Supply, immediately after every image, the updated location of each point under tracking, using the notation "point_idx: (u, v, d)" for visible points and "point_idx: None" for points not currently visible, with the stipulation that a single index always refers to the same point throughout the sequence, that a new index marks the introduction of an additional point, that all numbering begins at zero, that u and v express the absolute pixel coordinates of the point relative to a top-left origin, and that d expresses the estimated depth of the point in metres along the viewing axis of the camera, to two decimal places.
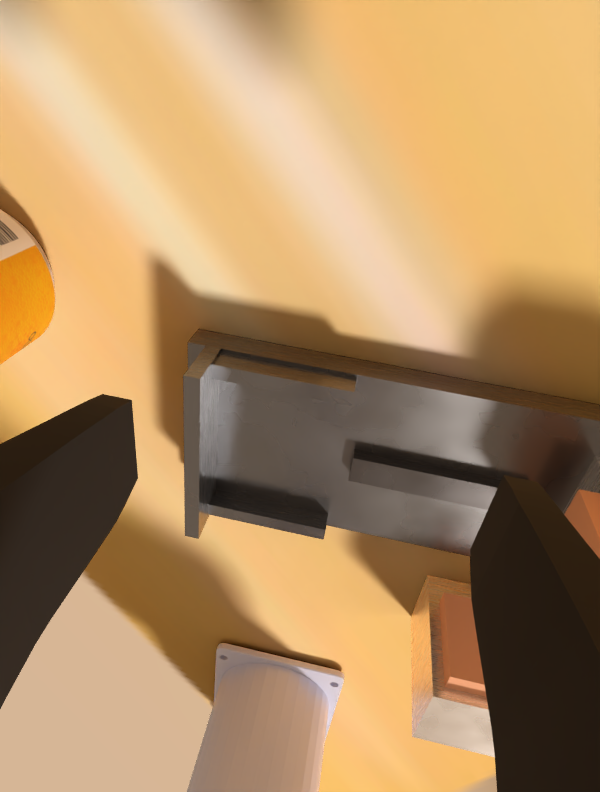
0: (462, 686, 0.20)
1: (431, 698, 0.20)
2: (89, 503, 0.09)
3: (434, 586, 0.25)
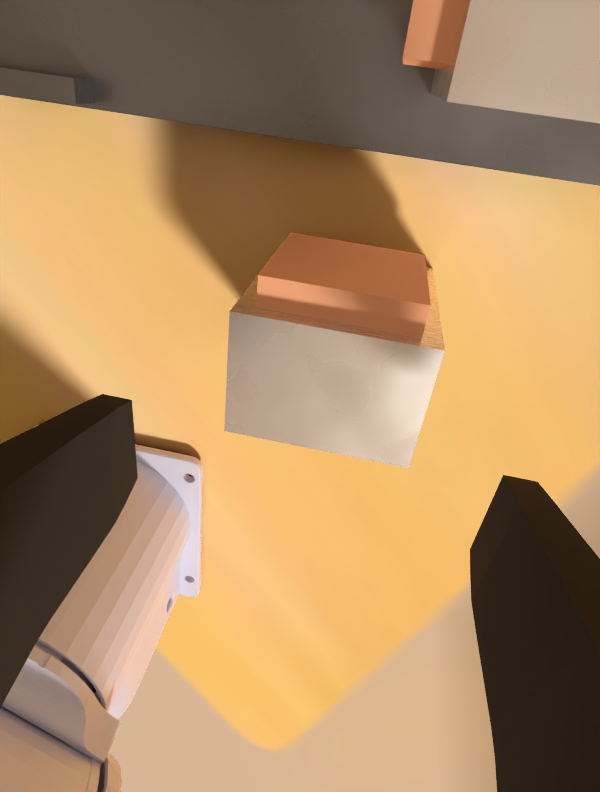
0: (282, 298, 0.12)
1: (229, 319, 0.12)
2: (89, 503, 0.09)
3: None
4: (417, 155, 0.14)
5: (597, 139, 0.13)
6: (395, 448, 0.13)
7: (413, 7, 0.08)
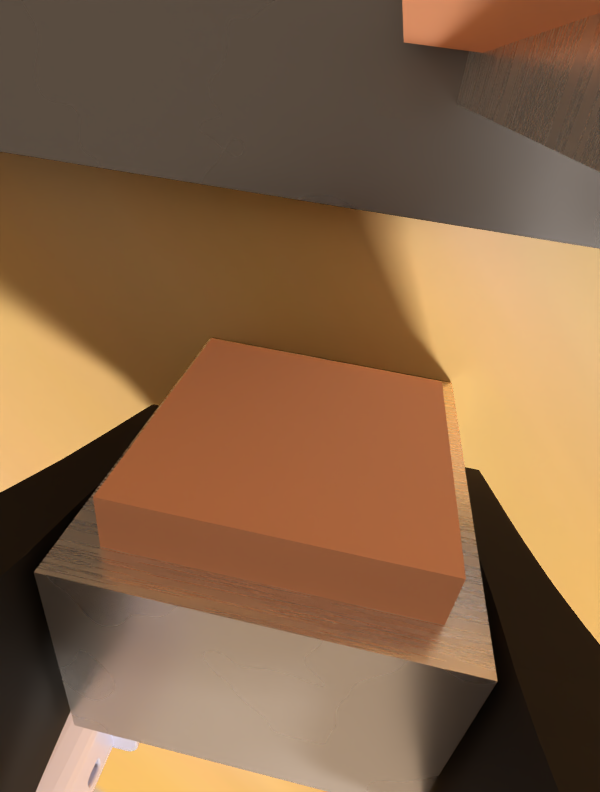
0: (148, 537, 0.06)
1: (38, 582, 0.06)
2: None
3: None
4: (430, 217, 0.07)
5: None
6: (389, 789, 0.07)
7: None
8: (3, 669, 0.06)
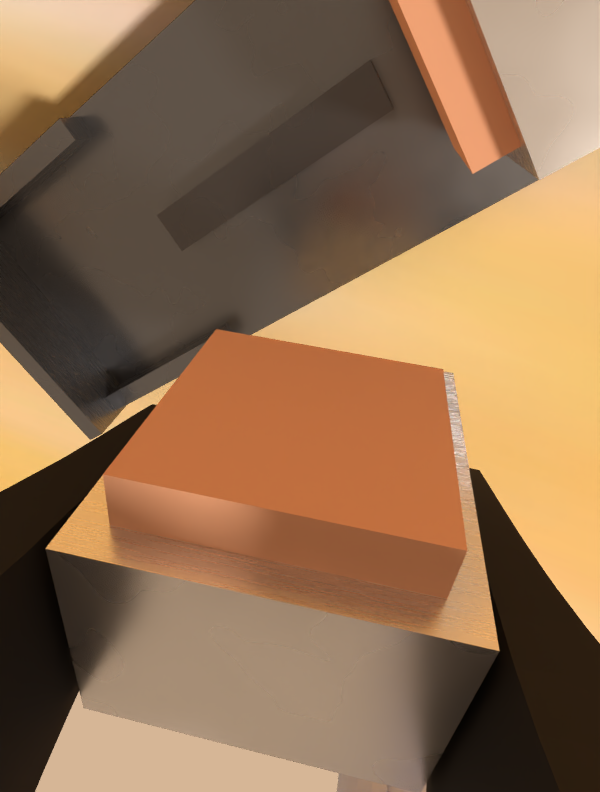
0: (157, 515, 0.06)
1: (50, 560, 0.06)
2: None
3: None
4: (509, 192, 0.13)
5: None
6: (394, 768, 0.07)
7: (458, 136, 0.08)
8: (2, 669, 0.06)
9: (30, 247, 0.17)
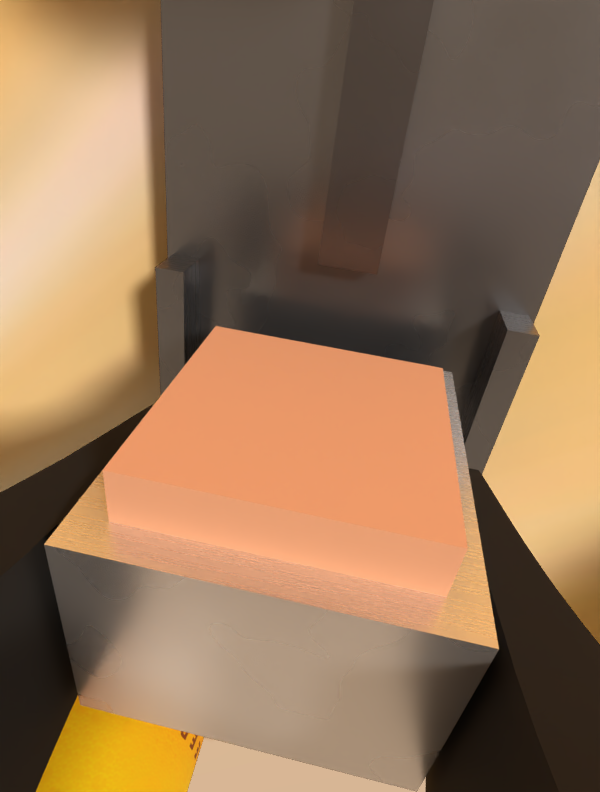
0: (157, 510, 0.06)
1: (47, 555, 0.06)
2: None
3: None
4: None
5: None
6: (392, 766, 0.07)
7: None
8: (3, 669, 0.06)
9: None
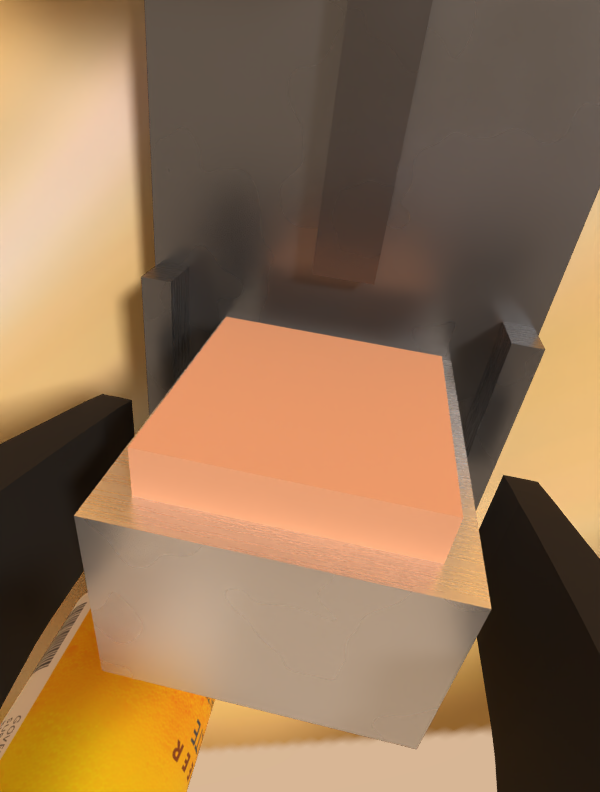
0: (177, 485, 0.06)
1: (76, 526, 0.06)
2: None
3: None
4: None
5: None
6: (393, 724, 0.07)
7: None
8: None
9: None
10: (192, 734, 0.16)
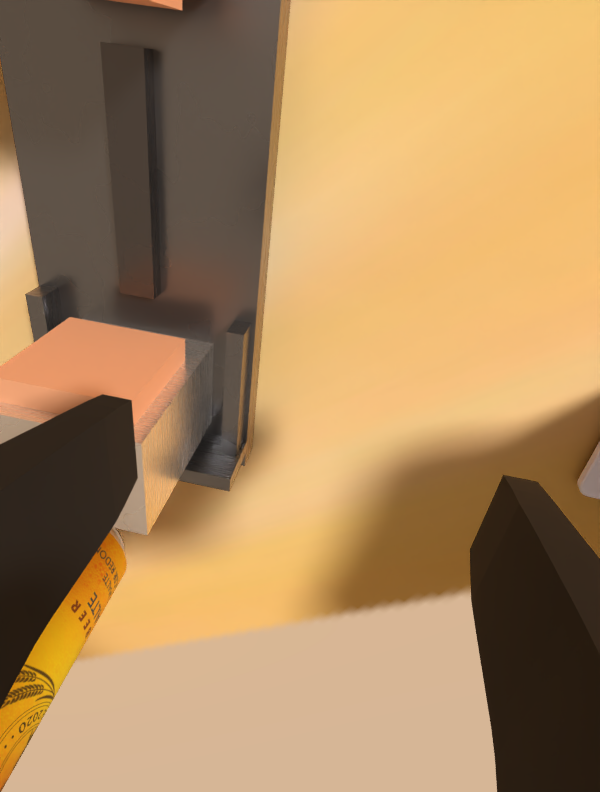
0: (12, 394, 0.14)
1: None
2: (89, 503, 0.09)
3: None
4: None
5: None
6: (131, 519, 0.15)
7: None
8: None
9: None
10: (88, 600, 0.23)
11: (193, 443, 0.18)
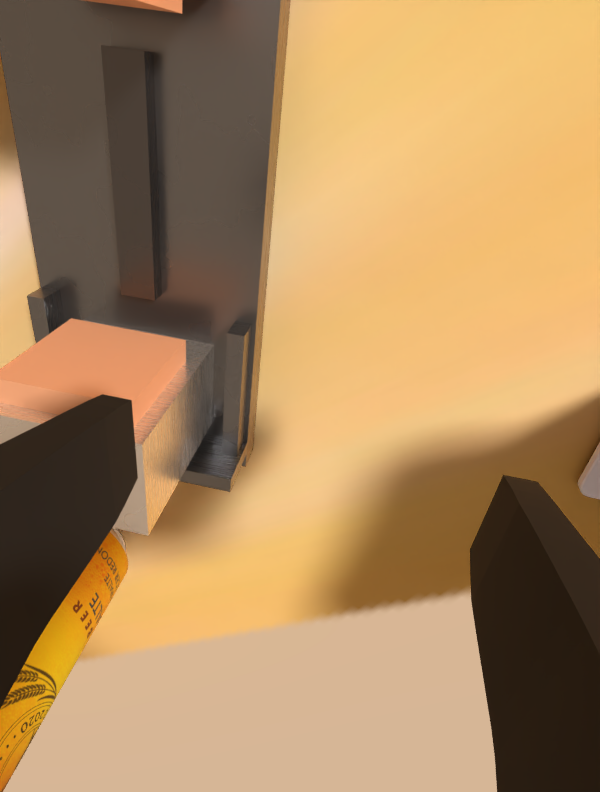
0: (13, 395, 0.14)
1: None
2: (89, 503, 0.09)
3: None
4: None
5: None
6: (132, 519, 0.15)
7: None
8: None
9: None
10: (90, 600, 0.23)
11: (194, 444, 0.18)
